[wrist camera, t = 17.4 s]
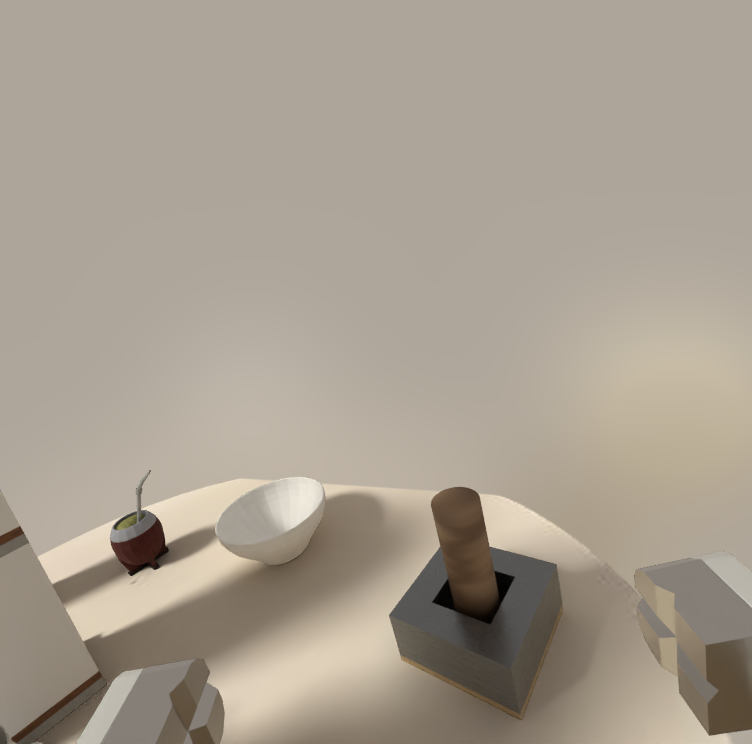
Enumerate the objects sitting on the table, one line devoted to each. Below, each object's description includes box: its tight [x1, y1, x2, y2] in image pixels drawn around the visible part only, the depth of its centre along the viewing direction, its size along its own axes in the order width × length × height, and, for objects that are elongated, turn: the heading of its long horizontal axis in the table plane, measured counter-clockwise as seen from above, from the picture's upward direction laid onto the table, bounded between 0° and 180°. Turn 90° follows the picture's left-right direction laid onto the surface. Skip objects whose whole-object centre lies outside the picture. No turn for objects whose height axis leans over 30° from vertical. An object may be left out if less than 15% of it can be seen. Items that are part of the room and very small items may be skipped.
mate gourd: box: [110, 470, 169, 576], centre depth 68 cm, size 8×8×15 cm
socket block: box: [389, 547, 563, 719], centre depth 43 cm, size 12×12×6 cm
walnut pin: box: [431, 487, 501, 625], centre depth 42 cm, size 4×4×15 cm
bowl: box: [215, 477, 326, 565], centre depth 64 cm, size 16×16×7 cm
